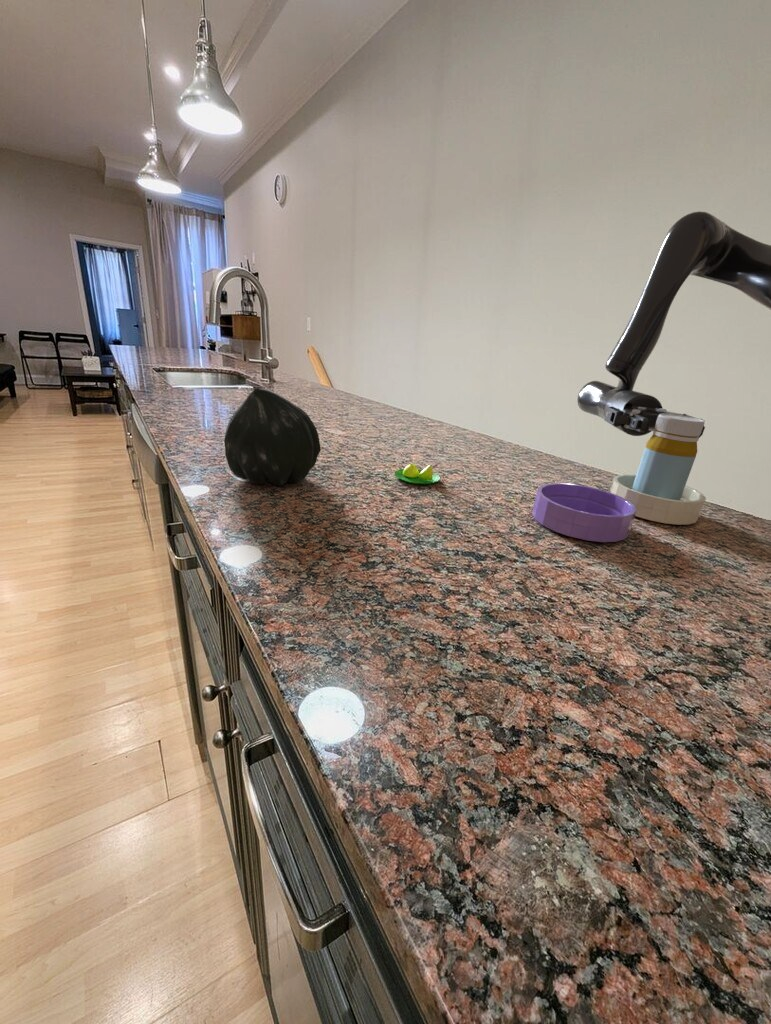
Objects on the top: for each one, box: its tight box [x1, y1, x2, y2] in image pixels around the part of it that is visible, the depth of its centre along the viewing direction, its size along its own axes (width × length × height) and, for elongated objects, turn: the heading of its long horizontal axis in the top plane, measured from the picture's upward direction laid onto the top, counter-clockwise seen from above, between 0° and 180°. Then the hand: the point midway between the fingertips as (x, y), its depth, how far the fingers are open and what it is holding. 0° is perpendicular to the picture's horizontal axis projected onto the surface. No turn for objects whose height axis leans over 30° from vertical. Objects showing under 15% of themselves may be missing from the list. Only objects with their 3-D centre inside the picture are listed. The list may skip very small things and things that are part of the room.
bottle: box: [632, 414, 706, 501], centre depth 71 cm, size 7×7×15 cm
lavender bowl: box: [531, 482, 636, 543], centre depth 65 cm, size 13×13×4 cm
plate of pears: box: [393, 462, 441, 485], centre depth 78 cm, size 8×8×3 cm
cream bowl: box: [608, 474, 707, 526], centre depth 73 cm, size 13×13×4 cm
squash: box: [223, 387, 322, 486], centre depth 70 cm, size 14×15×15 cm
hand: (672, 428), depth 71 cm, fingers open, 8 cm apart
